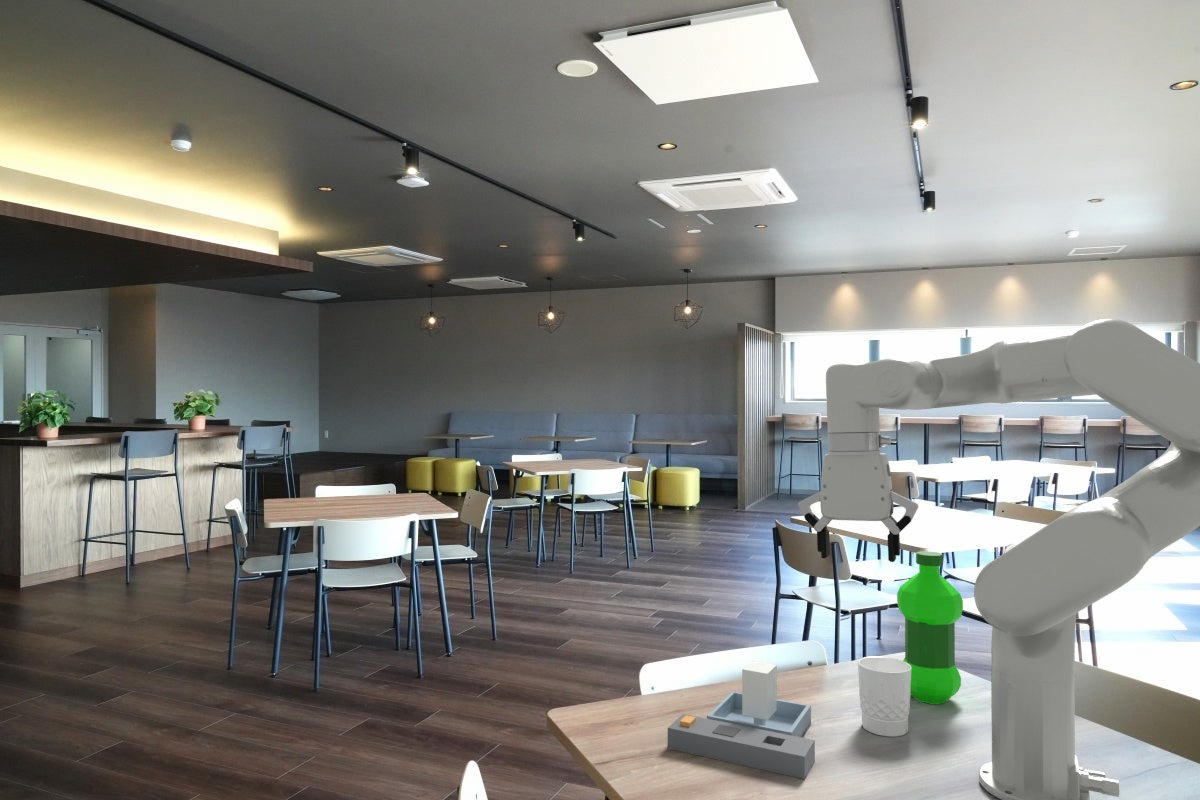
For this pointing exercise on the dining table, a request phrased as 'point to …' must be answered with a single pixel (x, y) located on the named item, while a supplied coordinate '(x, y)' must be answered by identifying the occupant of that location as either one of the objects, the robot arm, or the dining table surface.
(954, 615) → the plastic bottle
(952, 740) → the dining table surface
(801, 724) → the tray
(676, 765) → the dining table surface
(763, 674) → the block
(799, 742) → the strip
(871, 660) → the white cup
